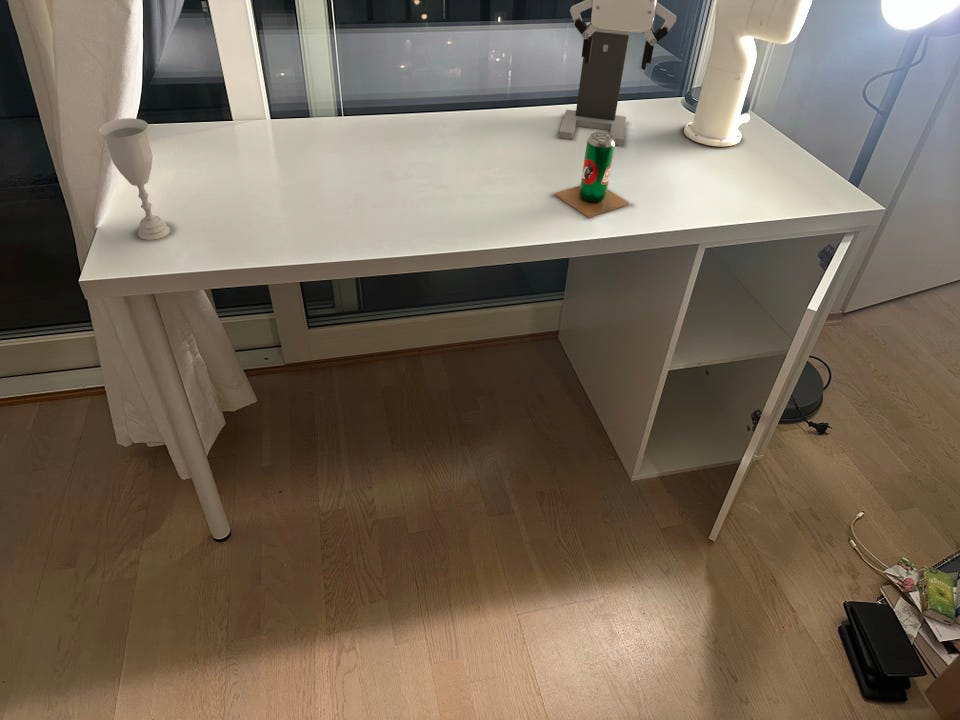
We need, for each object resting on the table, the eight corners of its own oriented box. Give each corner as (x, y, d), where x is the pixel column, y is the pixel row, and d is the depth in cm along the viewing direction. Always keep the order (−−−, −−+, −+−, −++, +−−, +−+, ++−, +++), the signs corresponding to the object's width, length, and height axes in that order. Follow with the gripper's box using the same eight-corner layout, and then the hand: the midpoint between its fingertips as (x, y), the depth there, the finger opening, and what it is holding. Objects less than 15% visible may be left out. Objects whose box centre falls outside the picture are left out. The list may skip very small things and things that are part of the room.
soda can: (604, 205, 131) (615, 143, 124) (577, 201, 132) (586, 140, 124) (606, 193, 135) (616, 132, 128) (580, 189, 136) (589, 129, 128)
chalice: (139, 221, 121) (108, 118, 109) (180, 221, 121) (153, 118, 110) (126, 243, 115) (92, 137, 104) (169, 243, 116) (140, 137, 104)
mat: (593, 183, 139) (594, 181, 139) (628, 205, 133) (629, 202, 133) (554, 195, 135) (554, 192, 134) (588, 217, 129) (589, 215, 128)
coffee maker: (565, 115, 166) (577, 17, 152) (625, 122, 164) (642, 24, 150) (558, 137, 156) (570, 35, 142) (621, 145, 154) (640, 43, 140)
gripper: (688, -50, 111) (666, 62, 122) (579, -58, 113) (567, 52, 125) (689, -39, 106) (666, 77, 117) (574, -48, 108) (562, 66, 119)
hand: (615, 64), depth 121 cm, fingers open, 9 cm apart
